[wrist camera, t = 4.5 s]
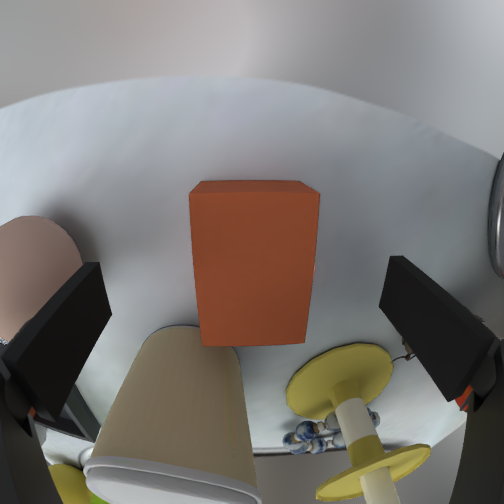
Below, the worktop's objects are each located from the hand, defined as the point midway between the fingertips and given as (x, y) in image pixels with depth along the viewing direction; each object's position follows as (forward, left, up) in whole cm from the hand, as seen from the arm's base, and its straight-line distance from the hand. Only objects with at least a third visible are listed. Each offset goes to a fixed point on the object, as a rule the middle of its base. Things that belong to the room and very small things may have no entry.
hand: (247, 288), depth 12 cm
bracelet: (-8, +19, -4) cm, 21 cm away
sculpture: (+34, +48, -4) cm, 59 cm away
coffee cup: (+4, +9, -5) cm, 12 cm away
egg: (+13, 0, -5) cm, 14 cm away
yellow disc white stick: (-8, +13, -5) cm, 16 cm away
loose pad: (0, 0, -5) cm, 5 cm away
